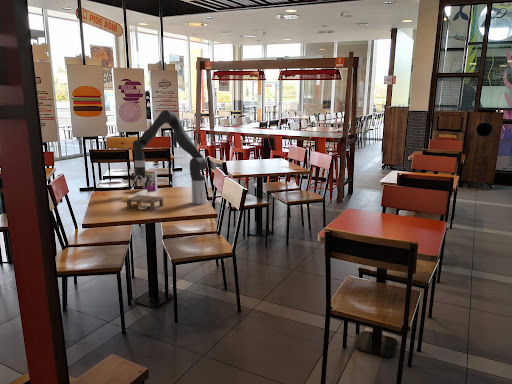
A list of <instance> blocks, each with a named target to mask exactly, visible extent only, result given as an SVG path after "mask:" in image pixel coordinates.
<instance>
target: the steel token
mask: <svg viewBox="0 0 512 384" xmlns="http://www.w3.org/2000/svg"><path fill="white" fill-rule="evenodd" d="M137 208H138V210H141V209H143V210H147V209H148V205H143V204H140V205H139V206H138V207H137Z"/></svg>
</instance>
